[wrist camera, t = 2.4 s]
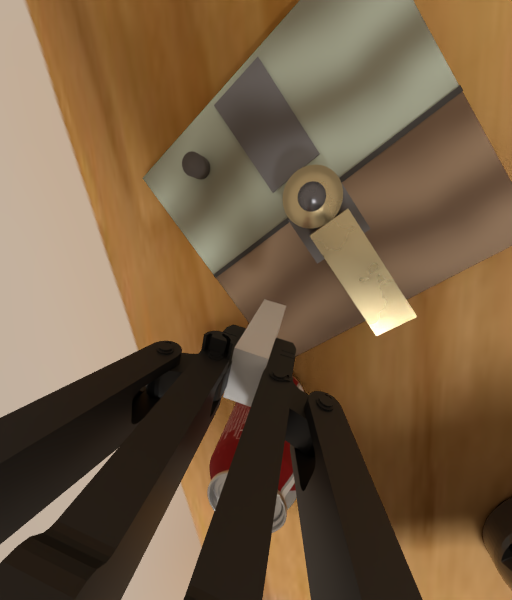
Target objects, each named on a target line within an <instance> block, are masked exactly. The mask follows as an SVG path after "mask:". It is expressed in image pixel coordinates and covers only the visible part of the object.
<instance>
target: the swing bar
mask: <svg viewBox="0 0 512 600" xmlns="http://www.w3.org/2000/svg"><path fill="white" fill-rule="evenodd" d="M282 199H283V207H284V210H285V213H286V215H287V216H288V218H289V219H290V220H291V221H292V222H293V223H294V224H296V225H298V226H300V227H303V228H318V227H319V228H318V229H317V230H315V231H314V232H312V233H311V234H310V237H311V239H312V240H313V242H314V243H315V245H316V246H317V248H318V249H319V251H320V252H321V254H322V255H323V257H324V258H325V260H326V261H327V263H328V264H329V266H330V267H331V269H332V270H333V272H334V273H335V275H336V276H337V278H338V279H339V281H340V282H341V284H342V285H343V287H344V288H345V290H346V291H347V293H348V294H349V296H350V297H351V299H352V300H353V302H354V303H355V305H356V306H357V308H358V309H359V311H360V312H361V314H362V315H363V317H364V318H365V320H366V321H367V323H368V324H369V326H370V327H371V329H372V330H373V332H374V333H375V335H376V336H378V335H380V334H382V333H384V332H386V331H389V330H391V329H393V328H395V327H397V326H399V325H401V324H403V323H405V322H407V321H409V320H411V319H414V318H416V317H417V316H416V314H415V312H414V311H413V309H412V308H411V306H410V305H409V303H408V302H407V300H406V298H405V297H404V295H403V294H402V292H401V291H400V289H399V287H398V286H397V284H396V283H395V281H394V280H393V278H392V276H391V275H390V273H389V272H388V270H387V269H386V267H385V265H384V264H383V262H382V261H381V259H380V258H379V256H378V254H377V253H376V251H375V250H374V248H373V247H372V245H371V243H370V242H369V240H368V239H367V237H366V236H365V234H364V232H363V231H362V229H361V228H360V226H359V225H358V223H357V221H356V220H355V218H354V217H353V215H352V214H351V212H350V210H349V209H346V210H343V211H342V212H341V213H339V214H338V215H336V214H337V213H338V211H339V209H340V207H341V204H342V200H343V187H342V183H341V181H340V179H339V177H338V176H337V174H336V173H335V172H334V171H333V170H331V169H330V168H328V167H326V166H323V165H308V166H305V167H302V168H301V169H299V170H297V171H296V172H295V173H294V174H293V175H292V176H291V177H290V178H289V180H288V181H287V183H286V185H285V188H284V191H283V198H282Z"/></svg>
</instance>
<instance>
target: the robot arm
mask: <svg viewBox="0 0 512 600" xmlns="http://www.w3.org/2000/svg"><path fill="white" fill-rule="evenodd" d="M285 308H286V306H285V305H282V304H279V303H275V302H272V301H268V300H265V299H264V301H263V303H262V304H261V306H260V307H259V309H258V311H257V312H256V314H255V315H254V317H253V319H252V320H251V322H250V324H249V325H248V327H247V328H243V327H239V326H236V325H231V326H229V327H227V328H226V329H225V330H224V331H223V332H220V331H210V332H207V333H205V334H204V338H203V344H202V350H201V351H200V353H199V354H188V353H181V352H182V349H181V346H180V345H178V344H177V343H175V342H172V341H159V342H156V343H153V344H151V345H149V346H147V347H145V348H143V349H141V350H139V351H137V352H135V353H133V354H131V355H129V356H127V357H125V358H123V359H120V360H118V361H116V362H114V363H112V364H110V365H108V366H106V367H104V368H102V369H100V370H98V371H96V372H94V373H92V374H90V375H88V376H85V377H83V378H82V379H79V380H77V381H75V382H73V383H71V384H69V385H67V386H65V387H63V388H61V389H59V390H57V391H55V392H53V393H51V394H48V395H46V396H44V397H42V398H40V399H38V400H36V401H34V402H32V403H30V404H28V405H26V406H24V407H22V408H20V409H18V410H16V411H14V412H12V413H10V414H7V415H5V416H3V417H1V418H0V544H1V543H2V542H4V541H5V540H6V539H7V538H8V537H10V536H11V535H12V534H13V533H15V532H16V531H17V530H18V529H20V528H21V527H22V526H23V525H24V524H26V523H27V522H28V521H29V520H30V519H32V518H33V517H34V516H35V515H36V514H38V513H39V512H40V511H42V510H43V509H44V508H45V507H46V506H48V505H49V504H50V503H51V502H53V501H54V500H55V499H56V498H57V497H59V496H60V495H61V494H62V493H63V492H65V491H66V490H67V489H68V488H70V487H71V486H72V485H73V484H75V483H76V482H77V481H78V480H79V479H81V478H82V477H83V476H84V475H86V474H87V473H88V472H89V471H90V470H92V469H93V468H94V467H95V466H96V465H98V464H99V463H100V462H101V461H103V460H104V459H105V458H106V457H107V456H109V455H110V454H111V453H112V452H114V451H115V450H116V449H117V448H118V449H117V450H116V452H115V453H114V454H113V455H112V456H111V457H110V459H109V460H108V461H107V462H106V463H105V464H104V466H103V467H102V468H101V469H100V470H99V472H98V473H97V474H96V475H95V476H94V478H93V479H92V480H91V481H90V482H89V483H88V485H87V486H86V487H85V488H84V489H83V490H82V492H81V493H80V494H79V495H78V496H77V498H76V499H75V500H74V501H73V502H72V503H71V505H70V506H69V507H68V508H67V509H66V510H65V512H64V513H63V514H62V515H61V516H60V517H59V519H58V520H57V521H56V522H55V523H54V524H53V525H52V526H51V527H50V528H49V529H48V530H46V531H45V532H44V533H41V534H38V535H35V536H31V537H29V538H28V539H27V540H25V541H24V542H22V543H21V544H20V545H18V546H17V547H16V548H15V549H14V550H13V551H12V552H11V553H10V554H9V555H8V556H7V557H6V558H5V559H4V560H3V561H2V562H1V563H0V600H121V598H122V596H123V594H124V592H125V590H126V588H127V586H128V584H129V582H130V580H131V579H132V577H133V575H134V573H135V571H136V569H137V567H138V565H139V563H140V561H141V559H142V557H143V555H144V553H145V551H146V549H147V547H148V545H149V543H150V541H151V539H152V537H153V535H154V533H155V531H156V529H157V527H158V525H159V523H160V521H161V519H162V518H163V516H164V514H165V512H166V510H167V508H168V506H169V504H170V502H171V500H172V498H173V496H174V494H175V491H176V490H177V488H178V486H179V484H180V482H181V480H182V478H183V476H184V474H185V472H186V470H187V468H188V466H189V464H190V462H191V460H192V458H193V456H194V454H195V453H196V451H197V449H198V447H199V445H200V443H201V441H202V439H203V437H204V435H205V433H206V431H207V429H208V427H209V425H210V423H211V421H212V419H213V417H214V415H215V413H216V411H217V409H218V407H219V405H220V401H221V396H222V395H223V393H224V396H223V397H225V398H227V399H230V400H233V401H236V402H238V403H241V404H244V405H247V406H249V407H251V408H250V411H249V414H248V416H247V419H246V422H245V425H244V428H243V431H242V434H241V437H240V439H239V442H238V445H237V448H236V451H235V454H234V457H233V460H232V462H231V465H230V468H229V471H228V474H227V477H226V480H225V483H224V485H223V488H222V491H221V494H220V497H219V500H218V503H217V506H216V509H215V511H214V514H213V517H212V520H211V523H210V526H209V529H208V532H207V534H206V537H205V540H204V543H203V546H202V549H201V552H200V555H199V558H198V560H197V563H196V566H195V569H194V572H193V575H192V578H191V581H190V583H189V586H188V589H187V592H186V595H185V597H184V600H262V597H263V590H264V583H265V576H266V569H267V562H268V555H269V548H270V541H271V534H272V527H273V520H274V513H275V506H276V499H277V492H278V485H279V478H280V471H281V464H282V457H283V450H284V443H285V440H286V441H287V442H288V443H290V453H291V460H292V467H293V474H294V481H295V489H296V496H297V503H298V510H299V517H300V524H301V531H302V538H303V545H304V552H305V559H306V567H307V574H308V581H309V588H310V595H311V600H422V597H421V595H420V593H419V590H418V588H417V585H416V583H415V581H414V578H413V576H412V574H411V571H410V569H409V566H408V564H407V562H406V559H405V557H404V555H403V552H402V550H401V547H400V545H399V543H398V540H397V538H396V536H395V533H394V531H393V528H392V526H391V524H390V521H389V519H388V517H387V514H386V512H385V509H384V507H383V505H382V502H381V500H380V497H379V495H378V493H377V490H376V488H375V486H374V483H373V481H372V478H371V476H370V474H369V471H368V469H367V467H366V464H365V462H364V459H363V457H362V455H361V452H360V450H359V448H358V445H357V443H356V440H355V438H354V436H353V433H352V431H351V429H350V426H349V424H348V421H347V419H346V417H345V414H344V412H343V410H342V407H341V405H340V404H339V402H338V401H337V400H336V399H335V398H334V397H332V396H331V395H329V394H327V393H324V392H321V391H314V392H312V393H310V395H308V394H306V393H305V392H303V391H302V390H300V389H299V388H298V387H297V386H296V385H295V383H294V382H293V377H292V374H293V367H294V360H295V354H296V347H295V345H294V343H292V342H289V341H286V340H283V339H279V338H277V335H278V332H279V328H280V325H281V322H282V318H283V315H284V311H285ZM224 391H225V392H224ZM483 540H484V544H485V547H486V549H487V551H488V553H489V554H490V556H491V558H492V560H493V562H494V564H495V566H496V568H497V570H498V572H499V573H500V575H501V577H502V578H503V580H504V581H505V582H506V584H507V585H508V586H509V588H510V589H511V590H512V498H510V499H509V500H507V501H505V502H503V503H502V504H501V505H499V506H498V507H497V508H496V509H495V510H493V512H492V513H491V514H490V515H489V517H488V518H487V520H486V522H485V524H484V528H483Z"/></svg>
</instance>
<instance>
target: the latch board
mask: <svg viewBox="0 0 512 600" xmlns="http://www.w3.org/2000/svg"><path fill="white" fill-rule="evenodd" d="M462 91H463V89H462V87H461V86H459V84H458V82H457V81H456V79H455V77H454V75H453V73H452V71H451V69H450V68H449V66H448V64H447V62H446V60H445V58H444V57H443V55H442V53H441V51H440V49H439V47H438V45H437V44H436V42H435V40H434V38H433V36H432V34H431V33H430V31H429V29H428V27H427V25H426V23H425V21H424V20H423V18H422V16H421V14H420V12H419V10H418V9H417V7H416V5H415V3H414V1H413V0H300V1H299V2H298V3H297V4H296V5H295V6H294V7H293V9H292V10H291V11H290V12H289V13H288V14H287V15H286V17H285V18H284V19H283V20H282V21H281V22H280V23H279V24H278V26H277V27H276V28H275V29H274V30H273V31H272V32H271V33H270V35H269V36H268V37H267V38H266V39H265V40H264V41H263V43H262V44H261V45H260V46H259V47H258V48H257V49H256V50H255V52H254V53H253V54H252V55H251V56H250V57H249V58H248V59H247V61H246V62H245V63H244V64H243V65H242V66H241V67H240V69H239V70H238V71H237V72H236V73H235V74H234V75H233V76H232V78H231V79H230V80H229V81H228V82H227V83H226V84H225V85H224V87H223V88H222V89H221V90H220V91H219V92H218V93H217V95H216V96H215V97H214V98H213V99H212V100H211V101H210V102H209V104H208V105H207V106H206V107H205V108H204V109H203V110H202V112H201V113H200V114H199V115H198V116H197V117H196V118H195V119H194V121H193V122H192V123H191V124H190V125H189V126H188V127H187V128H186V130H185V131H184V132H183V133H182V134H181V135H180V136H179V138H178V139H177V140H176V141H175V142H174V143H173V144H172V145H171V147H170V148H169V149H168V150H167V151H166V152H165V153H164V154H163V156H162V157H161V158H160V159H159V160H158V161H157V162H156V164H155V165H154V166H153V167H152V168H151V169H150V170H149V171H148V173H147V174H146V175H145V176H144V177H143V179H144V181H145V182H146V183H147V185H148V186H149V188H150V189H151V190H152V192H153V193H154V194H155V196H156V197H157V198H158V200H159V201H160V203H161V204H162V205H163V207H164V208H165V209H166V211H167V212H168V213H169V215H170V216H171V217H172V219H173V220H174V222H175V223H176V224H177V226H178V227H179V228H180V230H181V231H182V232H183V234H184V235H185V237H186V238H187V239H188V241H189V242H190V243H191V245H192V246H193V247H194V249H195V250H196V251H197V253H198V254H199V256H200V257H201V258H202V260H203V261H204V262H205V264H206V265H207V266H208V268H209V269H210V270H211V272H212V273H213V275H214V277H215V278H216V279H217V280H218V281H219V283H220V284H221V285H222V287H223V288H224V290H225V291H226V292H227V294H228V295H229V296H230V298H231V299H232V300H233V302H234V303H235V304H236V306H237V307H238V309H239V310H240V311H241V313H242V314H243V315H244V317H245V318H246V319H247V321H248V322H249V323H250V322H251V320H252V319H253V317H254V315H255V314H256V312H257V311H258V309H259V307H260V306H261V304H262V303H263V301H264V299H265V300H268V301H272V302H275V303H279V304H282V305H285V306H286V308H285V311H284V315H283V318H282V322H281V325H280V328H279V332H278V335H277V338H279V339H283V340H286V341H289V342H292V343H294V345H295V347H296V354H295V357H296V356H297V355H299V354H301V353H303V352H305V351H307V350H309V349H311V348H313V347H315V346H317V345H319V344H321V343H323V342H325V341H327V340H329V339H331V338H333V337H335V336H337V335H338V334H340V333H342V332H344V331H346V330H348V329H350V328H352V327H354V326H356V325H358V324H360V323H362V322H364V321H366V320H365V318H364V317H363V315H362V314H361V312H360V311H359V309H358V308H357V306H356V305H355V303H354V302H353V300H352V299H351V297H350V296H349V294H348V293H347V291H346V290H345V288H344V287H343V285H342V284H341V282H340V281H339V279H338V278H337V276H336V275H335V273H334V272H333V270H332V269H331V267H330V266H329V264H328V263H327V261H326V260H325V258H324V257H323V255H322V254H321V252H320V251H319V249H318V248H317V246H316V245H315V243H314V242H313V240H312V239H311V237H310V234H311V233H312V232H314V231H315V230H317V229H318V228H319V227H318V228H303V227H300V226H298V225H296V224H294V223H293V222H292V221H291V220H290V219H289V218H288V216H287V215H286V213H285V210H284V207H283V199H282V198H283V191H284V188H285V185H286V183H287V181H288V180H289V178H290V177H291V176H292V175H293V174H294V173H295V172H296V171H297V170H299V169H301V168H302V167H305V166H308V165H323V166H326V167H328V168H330V169H331V170H333V171H334V172H335V173H336V174H337V176H338V177H339V179H340V181H341V183H342V187H343V200H342V204H341V207H340V209H339V211H338V213H337V214H336V215H338V214H339V213H341V212H342V211H343V210H346V209H349V210H350V212H351V214H352V215H353V217H354V218H355V220H356V221H357V223H358V225H359V226H360V228H361V229H362V231H363V232H364V234H365V236H366V237H367V239H368V240H369V242H370V243H371V245H372V247H373V248H374V250H375V251H376V253H377V254H378V256H379V258H380V259H381V261H382V262H383V264H384V265H385V267H386V269H387V270H388V272H389V273H390V275H391V276H392V278H393V280H394V281H395V283H396V284H397V286H398V287H399V289H400V291H401V292H402V294H403V295H404V297H405V298H406V300H407V299H409V298H411V297H413V296H415V295H417V294H419V293H421V292H422V291H424V290H426V289H428V288H430V287H432V286H434V285H436V284H438V283H440V282H442V281H444V280H446V279H448V278H450V277H452V276H454V275H456V274H458V273H460V272H462V271H463V270H465V269H467V268H469V267H471V266H473V265H475V264H477V263H479V262H481V261H483V260H485V259H487V258H489V257H491V256H493V255H495V254H497V253H499V252H501V251H503V250H504V249H506V248H508V247H510V246H512V182H511V180H510V179H509V177H508V175H507V173H506V171H505V169H504V167H503V166H502V164H501V162H500V160H499V158H498V156H497V155H496V153H495V151H494V149H493V147H492V145H491V143H490V142H489V140H488V138H487V136H486V134H485V132H484V130H483V129H482V127H481V125H480V123H479V121H478V119H477V118H476V116H475V114H474V112H473V110H472V108H471V106H470V105H469V103H468V101H467V99H466V97H465V95H464V94H463V92H462Z"/></svg>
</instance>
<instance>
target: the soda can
mask: <svg viewBox="0 0 512 600" xmlns="http://www.w3.org/2000/svg"><path fill="white" fill-rule="evenodd" d="M292 377H293V382H294V383H295V385H296V386H297V387H298V388H299V389H300V390H302V391H303V392H304V390H303V388H302V386H301V384H300V383H299V381H298V380H297V379H296V378H295V377H294V376H292ZM250 408H251V407H249V406H247V405H244V404H241V403H238V402H236V404H235V406H234V408H233V411H232V413H231V415H230V417H229V420H228V422H227V424H226V426H225V428H224V431H223V433H222V435H221V437H220V439H219V442H218V444H217V446H216V448H215V450H214V453H213V455H212V457H211V460H210V476H211V482H210V484H209V487H208V499H209V502H210V505H211V506H212V508H213V510H214V511H215V509H216V506H217V503H218V500H219V497H220V494H221V491H222V488H223V485H224V483H225V480H226V477H227V474H228V471H229V468H230V465H231V462H232V460H233V457H234V454H235V451H236V448H237V445H238V442H239V439H240V437H241V434H242V431H243V428H244V425H245V422H246V419H247V416H248V414H249V411H250ZM296 497H297V496H296V489H295V481H294V474H293V467H292V460H291V453H290V443H288V442H287V441H286V440H285V443H284V450H283V457H282V464H281V471H280V478H279V485H278V492H277V499H276V506H275V513H274V520H273V527H272V533H273V532H275V531H277V530H279V529H280V528H281V527H282V526H283V525H284V523H285V521H286V517H287V510H288V509H289V508H290V506H291V505H292V504H293V503H294V501H295V500H296Z"/></svg>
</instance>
